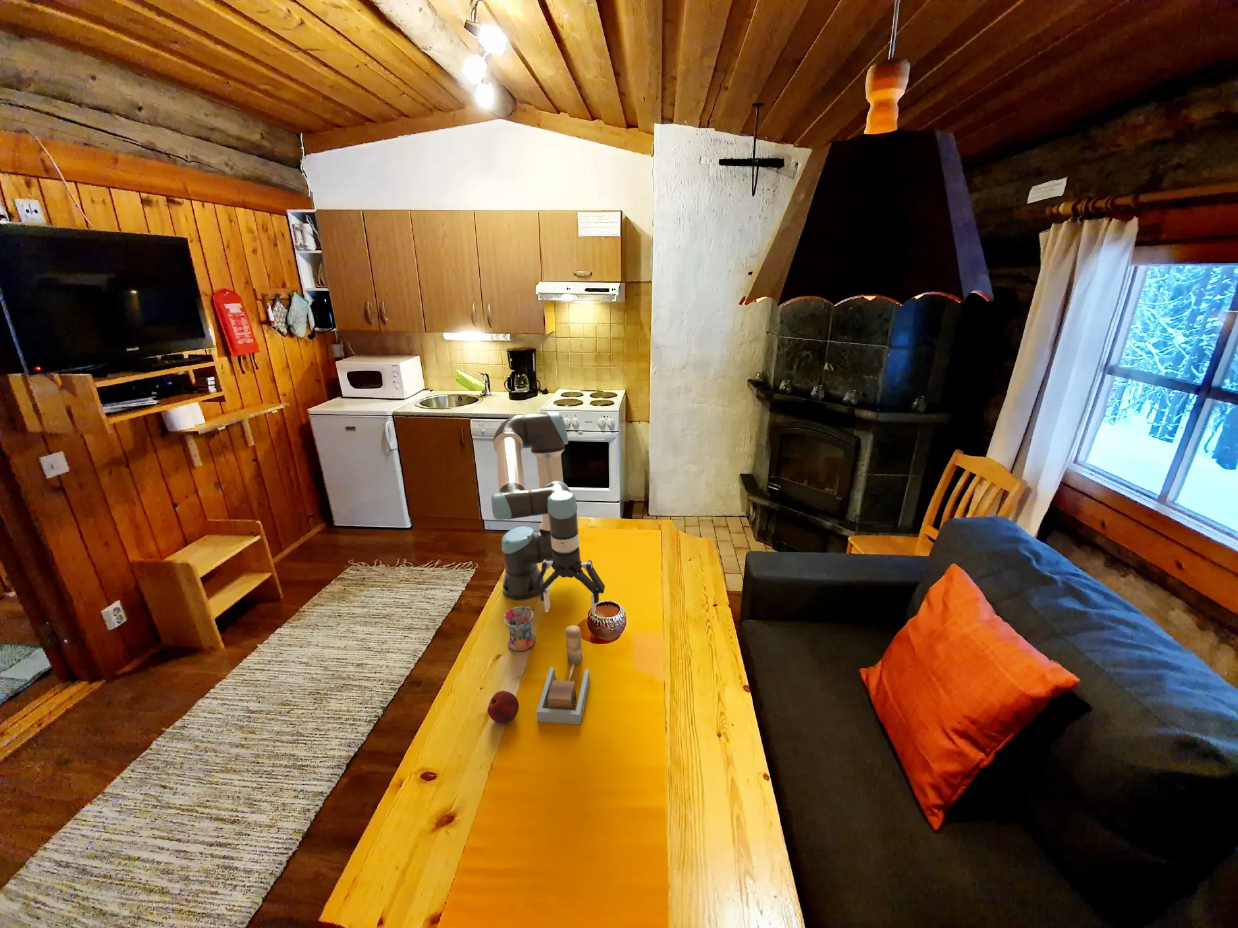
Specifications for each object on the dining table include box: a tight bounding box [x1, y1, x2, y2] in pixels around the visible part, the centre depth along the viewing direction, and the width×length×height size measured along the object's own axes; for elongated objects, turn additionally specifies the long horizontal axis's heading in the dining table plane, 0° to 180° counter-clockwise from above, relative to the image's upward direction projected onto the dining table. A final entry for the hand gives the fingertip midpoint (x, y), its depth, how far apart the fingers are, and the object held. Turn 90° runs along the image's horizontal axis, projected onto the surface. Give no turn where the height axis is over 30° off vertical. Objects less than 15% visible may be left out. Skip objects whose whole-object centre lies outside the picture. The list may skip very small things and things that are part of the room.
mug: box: [502, 605, 536, 652], centre depth 153 cm, size 12×9×11 cm
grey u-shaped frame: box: [535, 666, 591, 725], centre depth 132 cm, size 15×11×4 cm
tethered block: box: [547, 624, 583, 710], centre depth 136 cm, size 22×6×11 cm, turn 174°
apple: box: [487, 690, 520, 725], centre depth 127 cm, size 7×8×8 cm
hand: (570, 610), depth 140 cm, fingers open, 13 cm apart
